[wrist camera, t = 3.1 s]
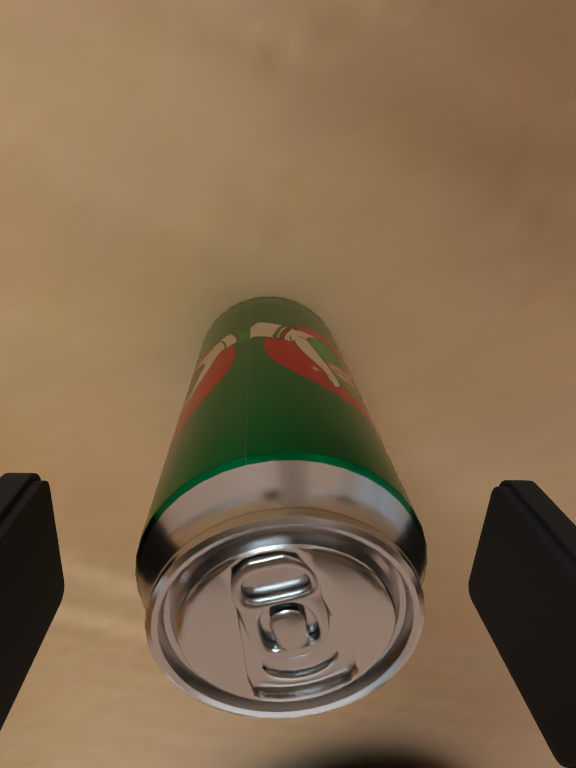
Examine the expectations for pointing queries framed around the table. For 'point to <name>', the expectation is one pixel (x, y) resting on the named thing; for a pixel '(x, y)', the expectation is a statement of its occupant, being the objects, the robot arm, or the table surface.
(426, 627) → the table surface
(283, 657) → the soda can
